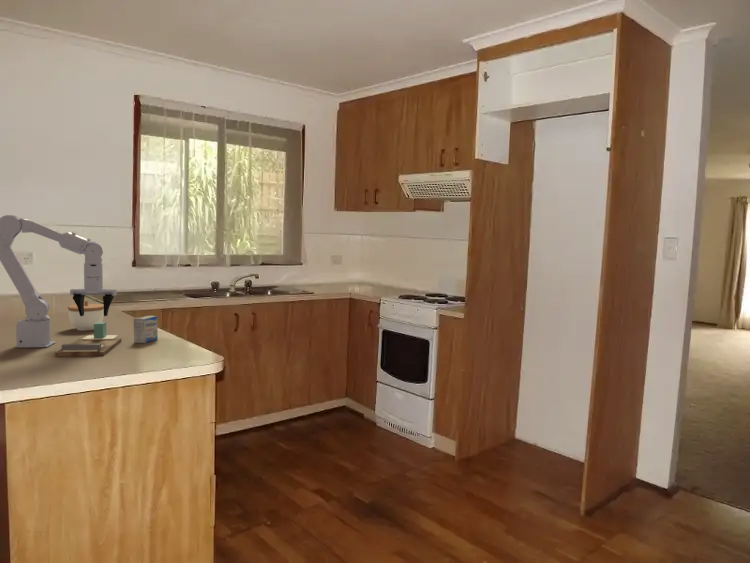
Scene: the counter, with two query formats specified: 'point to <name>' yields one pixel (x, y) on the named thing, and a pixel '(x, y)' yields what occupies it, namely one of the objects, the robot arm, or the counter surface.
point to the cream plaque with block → (100, 333)
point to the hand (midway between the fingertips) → (93, 315)
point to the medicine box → (145, 329)
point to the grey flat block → (82, 347)
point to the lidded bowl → (86, 316)
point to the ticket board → (108, 343)
